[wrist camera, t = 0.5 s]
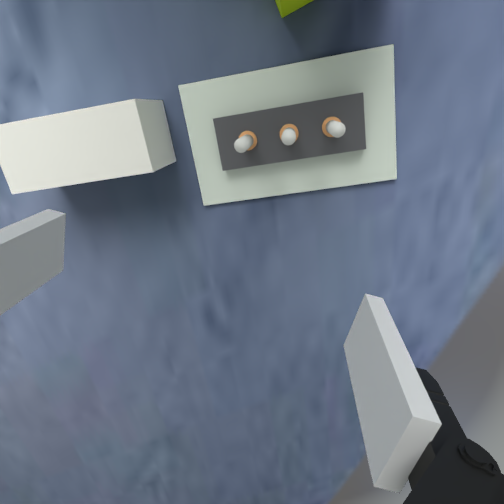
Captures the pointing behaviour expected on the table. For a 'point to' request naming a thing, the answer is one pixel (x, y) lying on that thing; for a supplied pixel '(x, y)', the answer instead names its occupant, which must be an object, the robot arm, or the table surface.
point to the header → (294, 127)
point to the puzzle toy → (290, 6)
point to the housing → (86, 145)
